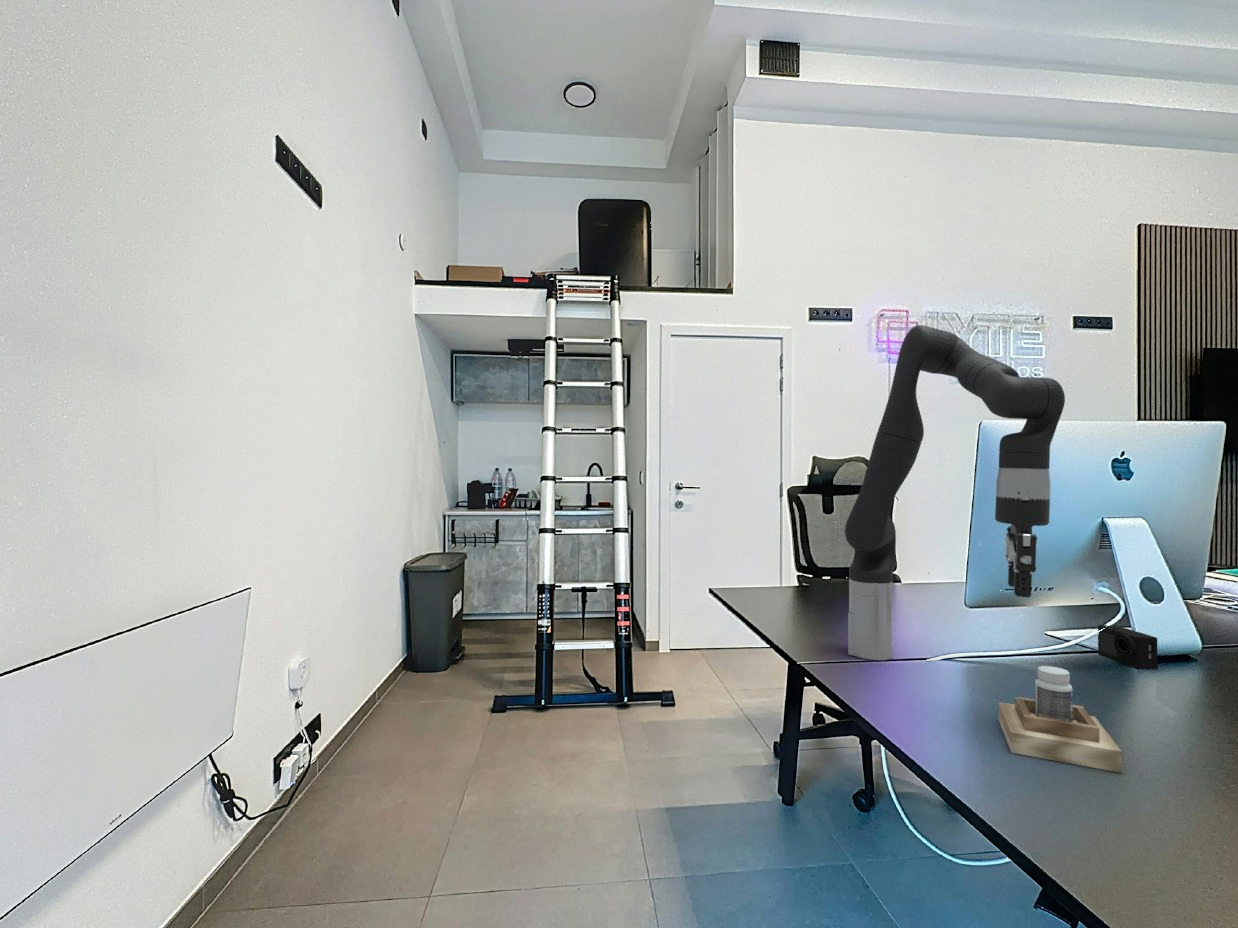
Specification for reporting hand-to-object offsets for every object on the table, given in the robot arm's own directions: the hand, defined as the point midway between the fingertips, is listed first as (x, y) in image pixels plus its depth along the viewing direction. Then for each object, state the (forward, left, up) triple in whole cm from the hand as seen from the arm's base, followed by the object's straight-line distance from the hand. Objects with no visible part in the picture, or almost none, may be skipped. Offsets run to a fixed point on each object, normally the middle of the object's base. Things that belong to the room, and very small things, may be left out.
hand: (1018, 591), depth 98 cm
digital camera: (+27, +49, -22) cm, 60 cm away
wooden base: (+4, -7, -22) cm, 23 cm away
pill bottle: (+3, -6, -19) cm, 21 cm away
